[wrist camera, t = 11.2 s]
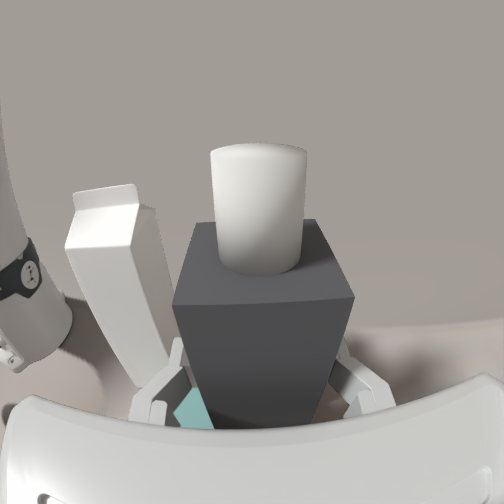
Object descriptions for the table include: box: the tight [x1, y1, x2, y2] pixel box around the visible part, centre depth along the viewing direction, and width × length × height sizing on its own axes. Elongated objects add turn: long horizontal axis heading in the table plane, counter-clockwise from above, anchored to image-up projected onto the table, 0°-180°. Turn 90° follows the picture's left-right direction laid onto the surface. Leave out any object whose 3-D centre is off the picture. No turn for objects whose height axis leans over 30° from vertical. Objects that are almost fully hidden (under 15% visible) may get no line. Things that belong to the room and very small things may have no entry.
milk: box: [65, 184, 181, 388], centre depth 23 cm, size 6×6×22 cm
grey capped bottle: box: [172, 143, 355, 429], centre depth 11 cm, size 4×4×17 cm
